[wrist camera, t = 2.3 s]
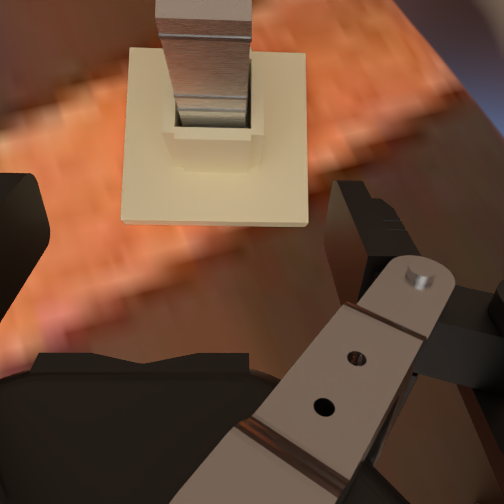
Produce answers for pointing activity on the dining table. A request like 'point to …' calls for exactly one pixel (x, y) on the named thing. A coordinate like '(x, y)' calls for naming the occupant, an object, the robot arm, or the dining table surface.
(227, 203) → the stand base
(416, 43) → the dining table surface
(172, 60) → the column
